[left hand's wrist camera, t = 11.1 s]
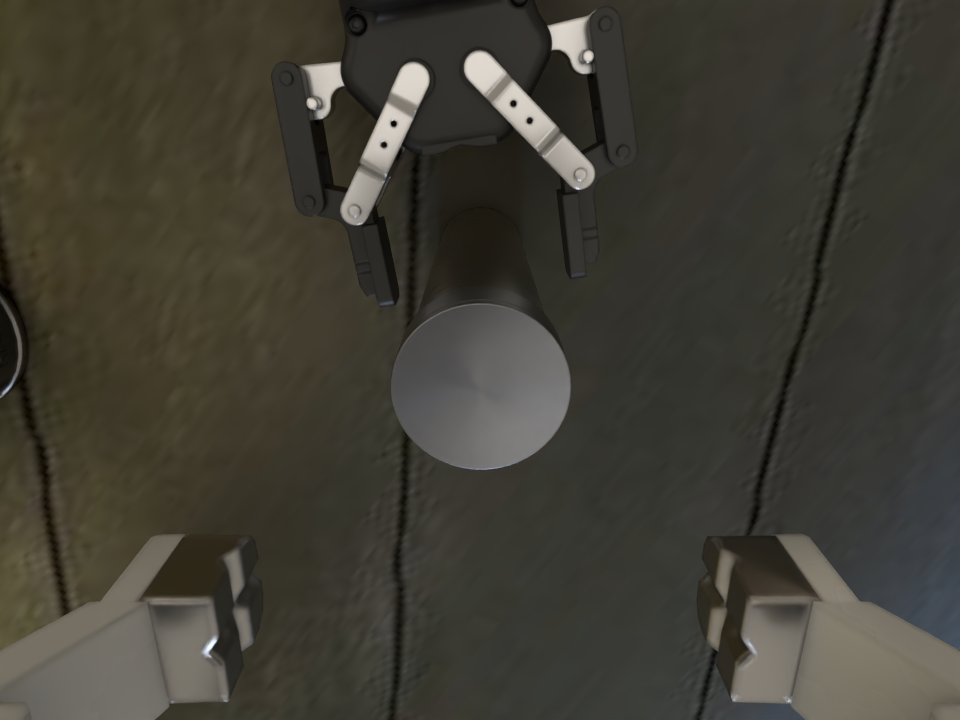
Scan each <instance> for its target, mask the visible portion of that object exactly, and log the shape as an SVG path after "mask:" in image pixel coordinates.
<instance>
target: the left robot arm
mask: <svg viewBox="0 0 960 720" xmlns="http://www.w3.org/2000/svg"><path fill="white" fill-rule="evenodd" d="M257 559H258V554H257V549H256V543H255V540H254V539H253V538H252V537H251V536H250V535H204V534H189V535H186V534H158V535H155V536H152V537H151V538H150V539H149V540H148V541H147V542H146V544H145V545H144V546H143V547H142V549H141V550H140V551H139V553H138V554H137V555H136V556H135V558H134V559H133V560H132V561H131V563H130V564H129V565H128V567H127V568H126V569H125V570H124V572H123V573H122V574H121V575H120V577H119V578H118V579H117V581H116V582H115V583H114V584H113V586H112V587H111V588H110V589H109V591H108V592H107V593H106V595H105V596H104V597H103V598H102V600H101V601H100V602H89V603H87V604H85V605H83V606H81V607H79V608H77V609H76V610H74V611H72V612H70V613H68V614H66V615H64V616H63V617H61V618H59V619H57V620H55V621H53V622H52V623H50V624H48V625H46V626H44V627H42V628H40V629H39V630H37V631H35V632H33V633H31V634H29V635H27V636H26V637H24V638H22V639H20V640H18V641H16V642H15V643H13V644H11V645H9V646H7V647H5V648H3V649H2V650H0V720H155V719H156V718H157V717H158V716H159V715H161V714H162V713H163V712H164V711H165V710H166V709H167V708H168V707H169V703H200V702H228V701H229V698H230V696H231V694H232V691H233V689H234V687H235V685H236V682H237V680H238V678H239V675H240V673H241V671H242V668H243V666H244V664H243V658H242V651H243V650H245V649H246V648H247V647H249V646H250V645H251V644H253V643H254V640H255V638H256V635H257V633H258V630H259V627H260V622H261V617H262V612H263V590H262V582H261V580H260V579H259V578H258V577H257V576H256V575H255V574H254V573H253V572H252V570H253V568H254V566H255V564H256V562H257ZM702 559H703V562H704V564H705V566H706V568H707V570H708V572H707V573H706V574H705V575H704V576H703V577H702V578H701V579H700V580H699V582H698V591H697V610H698V619H699V623H700V627H701V630H702V633H703V635H704V638H705V640H706V643H707V644H709V645H710V646H711V647H713V648H714V649H715V650H717V651H718V658H717V664H716V666H717V668H718V671H719V673H720V675H721V678H722V680H723V682H724V684H725V687H726V689H727V691H728V694H729V696H730V698H731V700H732V702H759V703H791V707H792V708H793V709H794V710H795V711H796V712H798V713H799V714H800V715H801V716H802V717H803V718H804V719H805V720H960V650H958V649H956V648H954V647H953V646H951V645H949V644H947V643H945V642H943V641H942V640H940V639H938V638H936V637H934V636H932V635H931V634H929V633H927V632H925V631H923V630H921V629H919V628H918V627H916V626H914V625H912V624H910V623H908V622H907V621H905V620H903V619H901V618H899V617H897V616H895V615H894V614H892V613H890V612H888V611H886V610H884V609H883V608H881V607H879V606H877V605H875V604H873V603H871V602H860V601H859V600H858V598H857V597H856V596H855V595H854V593H853V592H852V591H851V590H850V588H849V587H848V586H847V585H846V583H845V582H844V581H843V579H842V578H841V577H840V576H839V574H838V573H837V572H836V571H835V569H834V568H833V567H832V565H831V564H830V563H829V562H828V560H827V559H826V558H825V557H824V555H823V554H822V553H821V552H820V550H819V549H818V548H817V546H816V545H815V544H814V543H813V541H812V540H811V539H810V538H809V537H808V536H806V535H804V534H776V535H769V536H707V539H706V541H705V543H704V547H703V554H702Z"/></svg>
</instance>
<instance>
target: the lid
mask: <svg viewBox="0 0 960 720" xmlns="http://www.w3.org/2000/svg"><path fill="white" fill-rule="evenodd" d="M391 397H392V403H393V407H394V410H395V413H396V416H397V418H398V420H399V422H400V424H401V426H402V427H403V429H404V430H405V432H406V433H407V435H408V436H409V437H410V438H411V439H412V440H413V441H414V442H415V443H416V444H417V445H418V446H419V447H420V448H421V449H422V450H424V451H425V452H427V453H428V454H430V455H431V456H433V457H435V458H436V459H438V460H440V461H443V462H445V463H448V464H450V465H454V466H458V467H462V468H468V469H495V468H500V467H505V466H508V465H511V464H514V463H517V462H519V461H521V460H524V459H526V458H528V457H529V456H531V455H532V454H534V453H536V452H537V451H538V450H539V449H541V448H542V447H543V446H544V445H545V444H546V443H547V442H548V441H549V440H550V439H551V438H552V437H553V436H554V434H555V433H556V432H557V430H558V429H559V427H560V426H561V424H562V422H563V420H564V418H565V415H566V413H567V410H568V407H569V402H570V398H571V374H570V370H569V365H568V362H567V359H566V356H565V353H564V350H563V347H562V344H561V342H560V339H559V336H558V334H557V332H556V330H555V328H554V326H553V324H552V323H551V322H550V320H549V319H548V317H547V316H546V315H545V314H544V313H543V312H542V311H541V310H540V309H539V308H538V307H537V306H536V305H534V304H533V303H532V302H531V301H529V300H527V299H526V298H524V297H522V296H520V295H518V294H516V293H513V292H511V291H508V290H504V289H501V288H495V287H489V286H475V287H466V288H462V289H457V290H454V291H451V292H449V293H446V294H444V295H442V296H440V297H438V298H436V299H434V300H433V301H432V302H430V303H429V304H428V305H426V306H425V307H424V308H423V309H422V310H421V311H420V312H419V313H418V314H417V315H416V316H415V318H414V319H413V320H412V321H411V323H410V325H409V326H408V328H407V330H406V332H405V334H404V336H403V339H402V341H401V344H400V347H399V350H398V353H397V356H396V359H395V362H394V365H393V369H392V375H391Z"/></svg>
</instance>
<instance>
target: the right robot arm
mask: <svg viewBox="0 0 960 720" xmlns="http://www.w3.org/2000/svg"><path fill="white" fill-rule="evenodd" d="M339 4H340V8H341V13H342V18H343V23H344V29H345V48H344V53H343V57H342V60H341V62H332V63H323V64H313V65H304V66H302V65H298V64H295V63H291V62H280V63H278V64H277V65H276V66H275V67H274V68H273V70H272V74H271V79H272V85H273V90H274V95H275V100H276V106H277V111H278V116H279V122H280V127H281V132H282V137H283V143H284V148H285V153H286V159H287V164H288V169H289V174H290V180H291V185H292V190H293V196H294V201H295V205H296V208H297V209H298V211H299V212H300V213H302V214H303V215H305V216H315V215H316V216H321V217H326V218H331V219H335V220H337V221H339V222H341V223H342V224H343V225H344V226H345V228H346V230H347V232H348V236H349V240H350V244H351V249H352V253H353V258H354V262H355V266H356V271H357V275H358V280H359V284H360V287H361V289H362V290H363V291H364V293H365V294H366V296H373V295H376V297H377V301H378V305H379V307H386V306H393V305H396V303H397V301H398V299H399V287H398V282H397V277H396V272H395V267H394V263H393V258H392V253H391V248H390V243H389V238H388V233H387V228H386V224H385V219H384V217H378V212H377V207H378V205H379V203H380V201H381V199H382V197H383V195H384V193H385V190H386V188H387V186H388V184H389V182H390V180H391V178H392V176H393V174H394V173H395V171H396V169H397V167H398V165H399V163H400V161H401V159H402V157H403V155H404V152H405V150H406V149H407V150H409V151H411V152H413V153H416V154H422V156H428V155H434V154H440V153H443V152H445V151H447V150H449V149H451V148H453V147H455V146H458V145H465V146H474V147H482V146H488V145H494V144H497V142H499V141H501V140H503V139H504V138H506V137H507V136H508V135H509V134H510V133H511V132H512V131H513V129H514V130H515V131H516V132H517V133H518V134H519V135H520V136H521V137H522V138H523V139H524V140H525V141H526V142H527V143H528V144H529V145H530V146H531V147H532V148H533V149H534V150H535V151H536V152H537V153H538V154H539V155H540V156H541V157H542V159H543V160H544V161H545V162H546V163H547V164H548V165H549V166H550V167H551V168H552V169H553V170H554V171H555V172H556V173H557V174H558V175H559V176H560V181H561V189H558V190H557V199H558V208H559V217H560V226H561V234H562V243H563V252H564V261H565V267H566V272H567V274H568V276H569V278H570V279H575V278H581V277H586V263H593V262H596V260H597V257H598V253H599V240H598V230H597V219H596V208H595V198H594V191H595V187H596V185H597V183H598V182H599V180H600V179H601V178H602V177H604V176H606V175H607V174H609V173H611V172H613V171H615V170H616V169H618V168H620V167H626V166H628V165H630V164H632V163H633V162H634V160H635V159H636V157H637V154H638V147H637V139H636V131H635V124H634V116H633V108H632V101H631V93H630V85H629V78H628V70H627V62H626V55H625V47H624V39H623V32H622V24H621V18H620V15H619V13H618V12H617V11H616V10H615V9H614V8H612V7H609V6H604V7H601V8H599V9H597V10H595V11H594V12H592V13H591V14H590V15H589V16H585V17H581V18H577V19H573V20H569V21H565V22H560V23H556V24H552V25H548V26H547V24H546V23H545V22H544V20H543V19H542V17H541V16H540V14H539V12H538V9H537V7H536V4H535V0H339ZM551 52H558V53H561V54H562V55H563V56H564V57H565V58H566V60H567V62H568V65H569V67H570V69H571V71H572V72H574V73H575V74H577V75H587V79H588V86H589V92H590V99H591V106H592V112H593V119H594V125H595V132H596V139H597V143H595V144H593V145H591V146H590V147H588V148H586V149H584V150H583V151H581V152H580V151H579V150H578V149H577V148H576V147H575V146H574V145H573V144H572V143H571V142H570V140H569V139H568V138H567V137H566V136H565V135H564V134H563V133H562V131H561V130H560V129H559V128H558V127H557V126H556V124H555V123H554V122H553V121H552V120H551V119H550V118H549V117H548V116H547V115H546V114H545V113H544V112H543V111H542V110H541V109H540V107H539V106H538V105H537V104H536V103H535V102H534V101H533V100H532V99H531V98H530V96H531V94H532V92H533V90H534V88H535V86H536V84H537V82H538V80H539V78H540V76H541V74H542V72H543V70H544V68H545V66H546V64H547V62H548V60H549V58H550V55H551ZM343 88H346V89H347V91H348V92H349V93H350V94H351V95H352V96H353V97H354V98H355V99H356V100H357V101H358V102H359V103H360V104H361V105H362V106H363V107H364V108H365V109H366V110H367V111H368V112H369V113H370V114H371V115H372V116H373V117H374V118H375V119H376V120H377V124H376V126H375V128H374V130H373V132H372V135H371V137H370V139H369V141H368V143H367V146H366V148H365V150H364V152H363V154H362V157H361V159H360V162H359V166H358V169H357V171H356V173H355V176H354V178H353V180H352V182H351V184H350V187H349V188H345V187H340V186H335V185H334V183H333V177H332V171H331V165H330V159H329V153H328V147H327V141H326V135H325V129H324V123H323V119H327V118H329V117H330V116H331V115H332V114H333V113H334V110H335V100H336V96H337V94H338V92H339V91H340V90H341V89H343ZM27 351H28V348H27V338H26V333H25V329H24V326H23V323H22V320H21V318H20V316H19V313H18V311H17V309H16V308H15V306H14V304H13V303H12V301H11V300H10V298H9V297H8V295H7V294H6V293H5V292H4V291H3V289H2V288H1V287H0V399H1V398H3V397H4V396H5V395H7V394H8V393H9V392H10V391H11V390H12V389H13V388H14V387H15V386H16V385H17V383H18V382H19V380H20V378H21V376H22V374H23V372H24V369H25V366H26V361H27Z"/></svg>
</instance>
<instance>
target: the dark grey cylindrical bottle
mask: <svg viewBox="0 0 960 720" xmlns="http://www.w3.org/2000/svg"><path fill="white" fill-rule="evenodd" d="M475 286H489V287H495V288H501V289H504V290H508V291H511V292H513V293H516V294H518V295H520V296H522V297H524V298H526V299H527V300H529V301H531V302H532V303H533V304H534V305H536V306H537V307H538V308H539V309H540V310H541V311H542V312H543V313H544V311H543V308H542V305H541V302H540V298H539V295H538V292H537V289H536V286H535V283H534V279H533V276H532V273H531V270H530V267H529V264H528V260H527V257H526V254H525V251H524V248H523V244H522V241H521V238H520V235H519V232H518V230H517V228H516V227H515V225H514V224H513V222H512V221H511V220H510V219H509V218H508V217H506V216H505V215H504V214H502V213H500V212H498V211H496V210H493V209H490V208H472V209H468V210H466V211H463V212H462V213H460V214H458V215H457V216H455V217H454V218H453V219H452V220H451V221H450V222H449V224H448V225H447V226H446V228H445V230H444V232H443V235H442V237H441V241H440V244H439V247H438V250H437V253H436V257H435V260H434V263H433V266H432V269H431V273H430V276H429V279H428V282H427V285H426V289H425V292H424V295H423V298H422V301H421V305H420V308H419V311H418V313H419V312H420V311H421V310H422V309H423V308H424V307H425V306H426V305H428V304H429V303H430V302H432V301H433V300H434V299H436V298H438V297H440V296H442V295H444V294H446V293H449V292H451V291H454V290H457V289H462V288H466V287H475Z"/></svg>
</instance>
